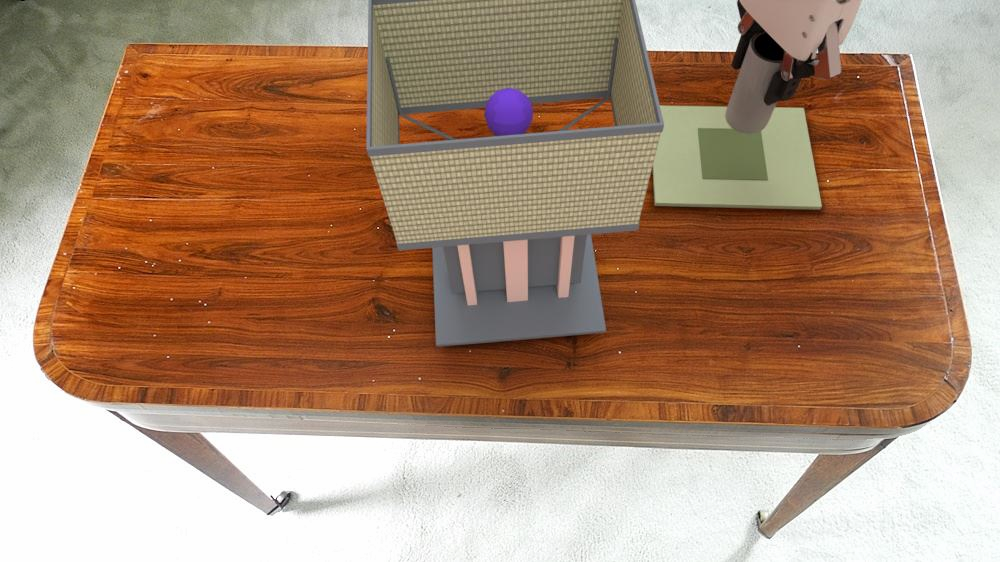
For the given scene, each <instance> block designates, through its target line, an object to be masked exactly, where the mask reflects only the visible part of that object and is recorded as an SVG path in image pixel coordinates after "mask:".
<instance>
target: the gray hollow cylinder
mask: <svg viewBox="0 0 1000 562" xmlns="http://www.w3.org/2000/svg"><path fill="white" fill-rule="evenodd" d="M783 55H784V49H783V48H782V47H781V46H780V45H779V44H778V43H777V42H776V41H775V40H774V39H773V38H772V37H771V36H770V35H769V34H768V33H767V32H766V31H765V30H764V29H763V30H760V31H758V32H757V33H755V34H754V35H753V37H752V38H751V41H750V43H749V46H748V49H747V52H746V55H745V58H744V60H743V63H742V66H741V69H739V72H738V75H737V78H736V79H735V80H736V81H735V83H734V86H733V89H732V92H731V94H730V98H729V100H728V103H727V106H726V107H727V109H726V113H725V118H726V121H727V123H728V124H729V126H730V127H731V128H733V129H734V130H736V131H738V132H740V133H745V134H754V133H758V132H760V131H762V130H763V129H764V128H765V127H766V126H767V124H768V122H769V120H770V118H771V115H772V113H773V111H774V108H775V107H777V104H778V102H776V103H774V104H771V105H769V106H767V105H766V104H765V103H764V97H765V95H766V92H767V90H768V87H769V85H770V82H771V80H772V78H773V75H774V74H775V73H776V72H778V71H780V70H781V67H782V61H783Z"/></svg>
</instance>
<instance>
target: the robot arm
mask: <svg viewBox="0 0 1000 562" xmlns="http://www.w3.org/2000/svg"><path fill="white" fill-rule="evenodd" d="M862 2H863V0H737V1H736V6H737V10H738V14H739V18H740V21H738V24H737V31H738V33H739V34H740V37H739V40H738V43H737V45H736V46H737V47H736V50H735V52H734V55H733V58H732V61H731V64H730V65H731V68H732V69H733V70H737V71H738V70H740V69H741V66H742V63H743V60H744V58H745V55H746V52H747V49H748V46H749V43H750V41H751V38H752V37H753V35H754V34H755V33H757V32H758V31H760V30H763V29H764V30H765V31H766V32H767V33H768V34H769V35H770V36H771V37H772V38H773V39H774V40H775V41H776V42H777V43H778V44H779V45H780V46H781V47H782V48H783V49H784V55H783V61H782V67H781V70H780V71H778V72H776V73H775V74H774V75H773V78H772V80H771V82H770V85H769V87H768V90H767V92H766V95H765V97H764V103H765V104H766V105H767V106H769V105H771V104H774V103H776V102H777V103H778V102H780V101H781V102H785V101H787V100H790V99H791V98H793V96H794V95H795V93H796V92H797V90H798V88H799V85H800V83H801V81H802V79H809V78H814V79H819V80H826V81H827V80H830V79H832V78H835V77H837V76H839V75H840V74H841V73H842V63H841V62H842V61H841V50H840V46H841V45H843V43H844V42H845V41H846V38H847V36H848V34H849V32H850V31H851V28H852V26H853V23H854V21H855V19H856V17H857V14H858V12H859V9H860V7H861V4H862ZM817 56H818V58H817Z"/></svg>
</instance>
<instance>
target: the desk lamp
mask: <svg viewBox="0 0 1000 562" xmlns="http://www.w3.org/2000/svg"><path fill="white" fill-rule="evenodd" d="M367 3H368V5H367V6H368V7H367V70H366V71H367V73H366V74H367V78H366V79H367V80H366V81H367V83H366V90H367V91H366V153H367V156H368V158H370V162H371V163H372V164H371V165H372V168H373V170H374V174H375V178H376V181H377V184H378V186H379V189H380V193H381V196H382V199H383V203H384V205H385V209H386V212H387V216H388V219H389V220H390V222H389V223H390V225H391V227H392V231H393V234H394V238H395V241H396V248H397V250H398V251H407V250H408V251H410V250H421V249H432V273H433V274H432V275H433V277H432V278H433V302H434V304H433V305H434V327H435V347H437V348H438V347H439V348H440V347H452V346H464V345H474V344H484V343H485V344H487V343H498V342H499V343H500V342H511V341H512V342H513V341H521V340H522V341H523V340H535V339H546V338H557V337H558V338H559V337H568V336H569V337H570V336H580V335H582V336H583V335H593V334H603V333H604V334H605V333H606V332H607V326H606V321H605V314H604V308H603V301H602V297H601V296H602V295H601V289H600V283H599V275H598V270H597V264H596V263H597V262H596V257H595V251H594V245H593V237H592V235H599V234H601V235H602V234H609V233H611V234H613V233H624V232H634V231H635V232H637V231H639V227H640V219H641V216H642V211H643V206H644V202H645V199H646V195H647V190H648V187H649V183H650V178H651V176H652V175H651V174H652V172H653V169H652V167H653V162H654V158H655V154H656V150H657V146H658V142H659V138H660V134H661V132H663V128H664V122H663V117H662V113H661V109H660V106H661V104H660V101H659V97H658V91H657V88H656V84H655V78H654V75H653V71H652V67H651V62H650V58H649V53H648V49H647V45H646V42H645V41H646V40H645V35H644V33H643V27H642V23H641V19H640V14H639V10H638V6H637V2H636V0H368V2H367ZM591 99H592V100H593V99H601V100H600V101H598V102H597V103H596V104H594V105H593V106H591V107H590V108H589V109H587V110H585V111H584V112H583V113H581V114H580V115H579V116H577V117H576V118H574V119H572V121H570V122H569V123H568V124H566V125H565V126H563V127H562V128H561V129H559V130H557V131H556V130H555V131H544V132H543V131H542V132H531V133H530V132H529V133H526V132H527V131H528V129H529V128H530V127H531V124H532V122H533V118H534V108H533V106H532V104H544V103H545V104H546V103H556V102H569V101H578V100H579V101H580V100H591ZM608 99H609V101H610V106H611V107H610V108H611V112H612V117H613V122H614V126H603V127H602V126H601V127H591V128H579V129H569V128H571V127H573V125H575V124H576V123H577V122H579V121H581V120H582V119H584V118H585V117H586V116H588V115H589V114H590V113H592V112H593V111H594V110H596V109H597V108H599V107H600V106H602V105H603V104H604V103H605V102H607V101H608ZM483 108H485V109H484V114H483V116H484V119H485V122H486V125H487V127H488V129H489V131H491V132H492V133H493V135H494V136H484V137H472V138H471V137H470V138H459V139H457V138H454V137H452V136H450V135H448V134H446V133H444V132H442V131H440V130H438V129H435V128H434V127H431V126H429V125H428V124H425V123H423V122H422V121H420V120H417V119H415V118H413V117H411V116H409V115H412V114H425V113H435V112H436V113H438V112H449V111H461V110H473V109H483ZM400 116H401V117H402V118H403V119H406V120H407V121H409V122H411V123H413V124H416V125H418V126H420V127H421V128H424V129H426V130H428V131H430V132H432V133H434V134H437V135H438V136H441V137H443V138H445V139H446V140H435V141H423V142H411V143H400V141H401V140H400V135H401V134H400Z"/></svg>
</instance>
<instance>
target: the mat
mask: <svg viewBox="0 0 1000 562" xmlns="http://www.w3.org/2000/svg"><path fill="white" fill-rule="evenodd" d="M660 109H661V113H662V117H663V122H664V128H663V132H661V134H660V138H659V142H658V146H657V150H656V154H655V158H654V162H653V167H652V185H653V187H652V188H653V202H654V203H653V204H654V207H684V208H686V207H688V208H725V209H727V208H730V209H769V210H770V209H773V210H775V209H777V210H813V211H814V210H815V211H816V210H817V211H821V209H822V207H823V204H822V199H821V194H820V187H819V182H818V177H817V173H816V172H817V171H816V166H815V160H814V156H813V150H812V146H811V145H812V144H811V139H810V134H809V128H808V123H807V118H806V113H805V107H782V106H781V107H777V106H775V108H774V111H773V113H772V115H771V118H770V120H769V122H768V124H767V126H766V127H765V128H764V129H763V130H762V131H760V132H758V133H754V134H745V133H740V132H738V131H736V130H734V129H733V128H731V127H730V126H729V124H728V123H727V121H726V118H725V113H726V109H727V106H716V105H715V106H713V105H709V106H707V105H705V106H704V105H660Z"/></svg>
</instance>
